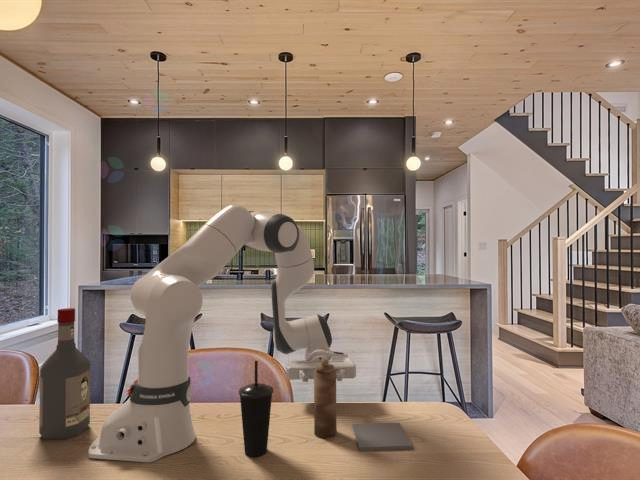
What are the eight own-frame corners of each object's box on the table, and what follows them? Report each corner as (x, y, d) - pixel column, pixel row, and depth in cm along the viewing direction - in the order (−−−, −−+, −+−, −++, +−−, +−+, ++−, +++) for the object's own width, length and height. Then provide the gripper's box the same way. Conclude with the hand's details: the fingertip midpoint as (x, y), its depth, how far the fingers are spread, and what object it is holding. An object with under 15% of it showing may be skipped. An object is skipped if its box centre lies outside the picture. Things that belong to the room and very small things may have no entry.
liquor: (33, 440, 95) (35, 312, 96) (57, 423, 104) (58, 306, 105) (73, 439, 95) (74, 312, 96) (93, 423, 105) (94, 306, 105)
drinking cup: (266, 462, 85) (266, 367, 85) (232, 458, 87) (233, 364, 87) (277, 445, 93) (277, 357, 93) (246, 442, 94) (246, 355, 94)
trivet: (359, 450, 90) (359, 447, 90) (352, 427, 102) (352, 423, 102) (413, 449, 91) (412, 445, 91) (399, 425, 103) (399, 422, 103)
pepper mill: (314, 438, 96) (314, 362, 96) (313, 428, 101) (313, 356, 101) (337, 438, 96) (337, 362, 96) (335, 427, 101) (334, 356, 102)
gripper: (285, 354, 124) (284, 367, 110) (352, 353, 125) (359, 366, 111) (285, 375, 124) (284, 391, 110) (352, 373, 125) (359, 389, 111)
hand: (322, 378), depth 111 cm, fingers open, 8 cm apart
